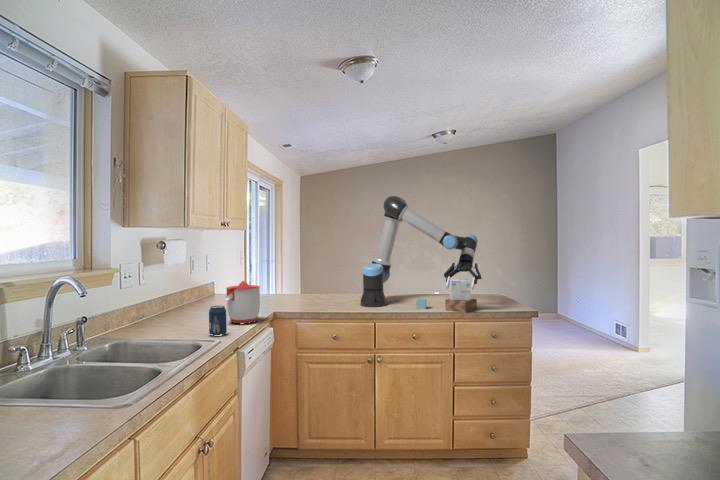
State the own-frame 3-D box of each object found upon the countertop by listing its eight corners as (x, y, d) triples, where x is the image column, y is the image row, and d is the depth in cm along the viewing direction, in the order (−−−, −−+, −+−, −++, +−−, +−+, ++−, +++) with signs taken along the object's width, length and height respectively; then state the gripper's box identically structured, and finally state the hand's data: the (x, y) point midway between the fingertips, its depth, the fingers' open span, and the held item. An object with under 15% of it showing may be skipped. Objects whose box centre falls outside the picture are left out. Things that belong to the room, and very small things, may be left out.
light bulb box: (469, 298, 238) (468, 278, 238) (471, 300, 232) (471, 280, 232) (449, 298, 239) (448, 278, 239) (450, 300, 232) (450, 280, 232)
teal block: (416, 309, 240) (416, 300, 240) (417, 307, 245) (417, 298, 245) (425, 309, 239) (425, 300, 239) (426, 307, 244) (426, 298, 244)
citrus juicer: (217, 323, 208) (216, 281, 208) (248, 317, 221) (247, 278, 221) (236, 328, 198) (235, 283, 198) (267, 321, 211) (266, 280, 211)
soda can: (223, 332, 190) (222, 304, 189) (229, 335, 184) (228, 306, 184) (207, 334, 185) (206, 306, 185) (212, 337, 180) (212, 308, 180)
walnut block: (445, 310, 235) (445, 299, 235) (457, 307, 244) (456, 297, 244) (465, 313, 227) (465, 301, 227) (476, 310, 236) (476, 299, 236)
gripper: (490, 262, 243) (484, 293, 230) (446, 261, 255) (438, 290, 242) (488, 253, 238) (482, 284, 225) (443, 253, 250) (435, 282, 237)
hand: (459, 287), depth 233 cm, fingers open, 13 cm apart
